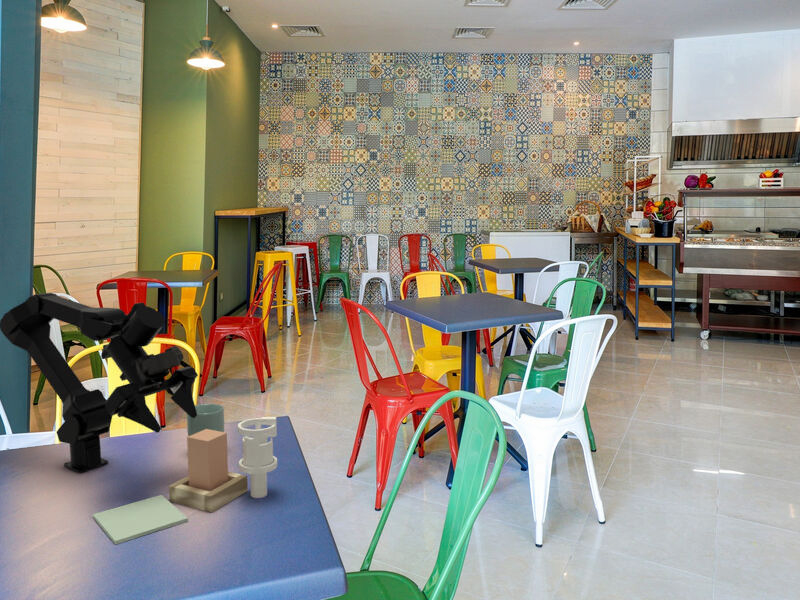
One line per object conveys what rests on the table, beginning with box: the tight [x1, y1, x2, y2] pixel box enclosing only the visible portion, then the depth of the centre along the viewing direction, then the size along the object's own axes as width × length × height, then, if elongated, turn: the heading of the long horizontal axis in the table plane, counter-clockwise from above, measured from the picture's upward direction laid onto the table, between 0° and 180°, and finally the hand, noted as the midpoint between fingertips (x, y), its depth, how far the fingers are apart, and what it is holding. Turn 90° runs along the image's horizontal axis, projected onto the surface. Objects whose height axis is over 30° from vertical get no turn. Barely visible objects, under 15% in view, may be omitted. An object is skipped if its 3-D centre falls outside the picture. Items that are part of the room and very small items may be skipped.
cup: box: [186, 403, 225, 437], centre depth 140 cm, size 8×8×10 cm
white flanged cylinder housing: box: [237, 416, 278, 499], centre depth 118 cm, size 7×7×15 cm
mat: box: [92, 494, 189, 545], centre depth 109 cm, size 12×12×1 cm
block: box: [186, 429, 229, 491], centre depth 118 cm, size 5×5×12 cm
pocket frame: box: [168, 471, 249, 513], centre depth 118 cm, size 10×10×3 cm
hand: (178, 423), depth 120 cm, fingers open, 9 cm apart
